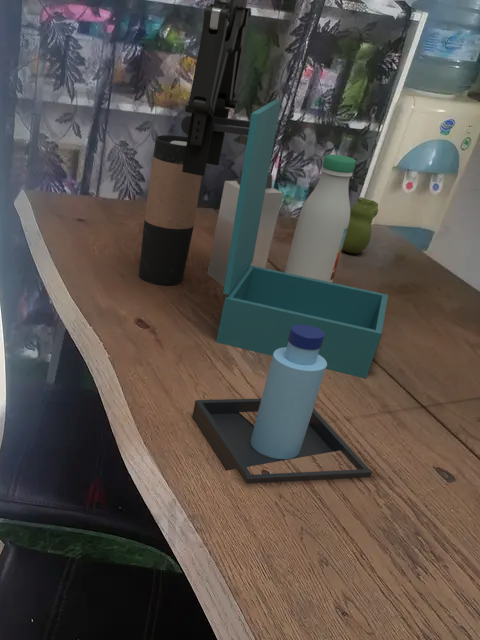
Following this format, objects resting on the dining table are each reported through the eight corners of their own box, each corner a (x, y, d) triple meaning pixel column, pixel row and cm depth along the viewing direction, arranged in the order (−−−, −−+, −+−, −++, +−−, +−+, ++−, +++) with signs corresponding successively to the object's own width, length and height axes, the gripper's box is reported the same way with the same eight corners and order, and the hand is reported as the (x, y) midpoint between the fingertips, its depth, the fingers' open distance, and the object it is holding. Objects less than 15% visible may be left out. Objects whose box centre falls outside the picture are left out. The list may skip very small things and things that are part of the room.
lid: (281, 100, 93) (206, 92, 96) (258, 113, 81) (173, 104, 84) (252, 262, 105) (186, 251, 108) (228, 295, 93) (155, 281, 96)
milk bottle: (319, 303, 116) (358, 166, 104) (273, 289, 119) (307, 154, 107) (334, 291, 121) (374, 159, 109) (290, 278, 124) (324, 149, 112)
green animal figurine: (330, 250, 140) (346, 194, 134) (346, 246, 143) (362, 192, 137) (355, 259, 137) (372, 202, 131) (370, 255, 140) (388, 200, 134)
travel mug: (130, 279, 116) (148, 139, 104) (145, 265, 122) (164, 132, 110) (176, 289, 114) (200, 149, 102) (189, 275, 120) (213, 141, 108)
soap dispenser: (234, 268, 125) (265, 125, 112) (260, 287, 119) (296, 137, 106) (200, 269, 123) (227, 123, 110) (225, 288, 117) (257, 135, 104)
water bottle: (309, 455, 76) (347, 340, 69) (268, 462, 74) (302, 344, 67) (280, 430, 80) (313, 318, 72) (240, 436, 78) (269, 322, 70)
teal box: (372, 340, 105) (388, 294, 101) (364, 384, 93) (381, 333, 89) (239, 310, 110) (249, 264, 106) (214, 347, 98) (225, 297, 94)
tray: (365, 489, 73) (372, 472, 72) (243, 496, 70) (248, 478, 69) (299, 413, 85) (304, 397, 84) (191, 416, 82) (195, 399, 80)
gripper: (258, -61, 71) (210, 189, 85) (289, -49, 87) (245, 160, 101) (184, -70, 73) (149, 176, 87) (228, -57, 88) (192, 150, 102)
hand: (201, 167), depth 94 cm, fingers closed on lid, 7 cm apart
